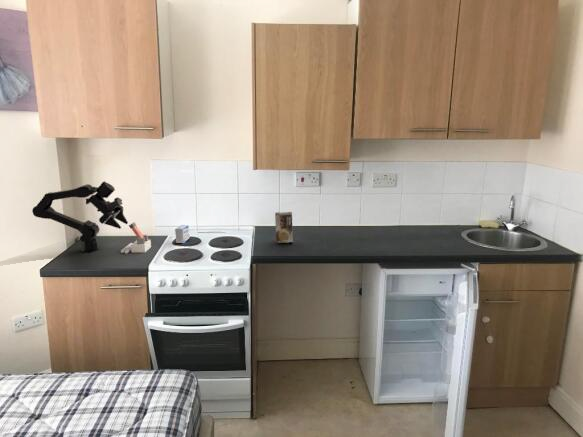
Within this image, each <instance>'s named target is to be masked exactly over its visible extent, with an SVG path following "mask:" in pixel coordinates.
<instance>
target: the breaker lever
mask: <svg viewBox="0 0 583 437" xmlns="http://www.w3.org/2000/svg"><path fill="white" fill-rule="evenodd" d="M128 227H129V228H130V229H131V230H132V232H133V233H134V234H135V236H136V238H144V236H143V235H144V234H143V233H142V232H141V230H140V229H139V228H138V225H137V224H136V222H132V223H131V224H129V225H128ZM144 239H145V238H144Z"/></svg>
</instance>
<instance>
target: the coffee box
mask: <svg viewBox="0 0 583 437" xmlns="http://www.w3.org/2000/svg"><path fill="white" fill-rule="evenodd" d="M274 214H275V215H274V220H275V221H274V224H275V242H276V241H277V242H293V243H294V234H293V233H294V232H293V230H294V229H293V212H292V211H283V212H281V211H279V212H275V213H274Z"/></svg>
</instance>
